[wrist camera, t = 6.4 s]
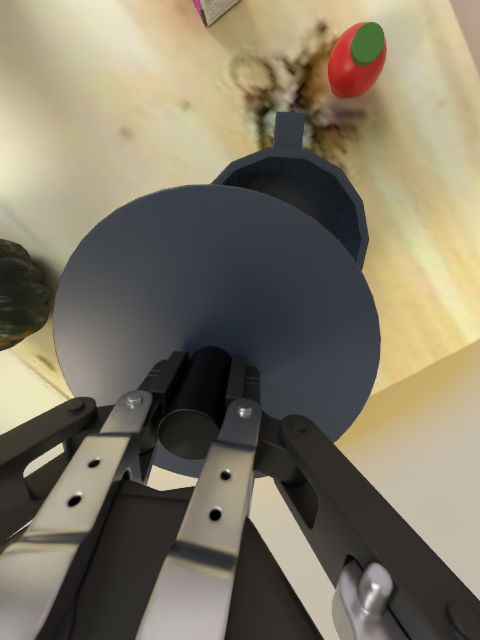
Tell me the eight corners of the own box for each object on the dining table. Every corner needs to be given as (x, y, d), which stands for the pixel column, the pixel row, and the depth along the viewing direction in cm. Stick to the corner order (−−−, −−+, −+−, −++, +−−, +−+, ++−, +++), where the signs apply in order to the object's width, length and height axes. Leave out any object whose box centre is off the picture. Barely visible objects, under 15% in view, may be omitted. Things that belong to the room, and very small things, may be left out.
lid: (92, 453, 19) (18, 558, 13) (36, 179, 12) (-160, 139, 7) (339, 476, 18) (378, 597, 12) (411, 196, 12) (565, 170, 6)
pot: (206, 317, 37) (190, 347, 29) (209, 139, 30) (189, 103, 21) (320, 327, 37) (341, 360, 28) (355, 147, 29) (398, 114, 20)
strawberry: (317, 107, 28) (332, 78, 22) (325, 47, 26) (344, 0, 21) (364, 109, 28) (390, 81, 22) (375, 49, 26) (407, 2, 20)
